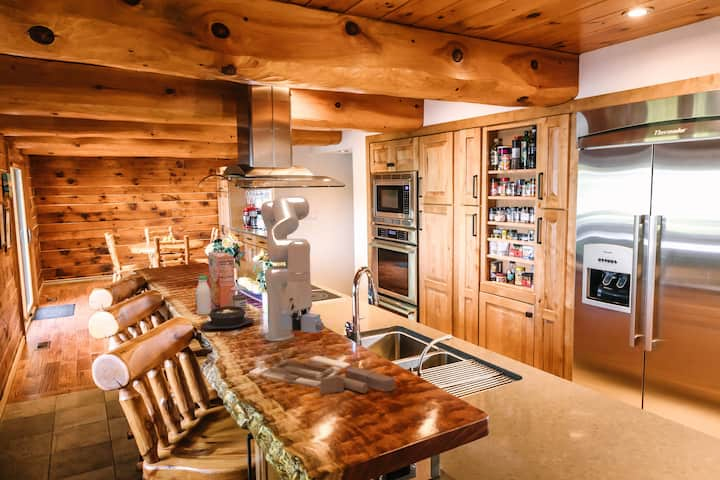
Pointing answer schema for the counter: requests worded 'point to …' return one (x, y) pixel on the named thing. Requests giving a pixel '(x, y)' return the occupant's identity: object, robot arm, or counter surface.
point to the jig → (300, 373)
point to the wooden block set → (357, 381)
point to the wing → (330, 362)
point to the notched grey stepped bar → (302, 322)
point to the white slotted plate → (259, 369)
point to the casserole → (227, 318)
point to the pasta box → (221, 278)
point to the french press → (239, 297)
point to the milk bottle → (203, 297)
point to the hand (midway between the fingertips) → (300, 328)
